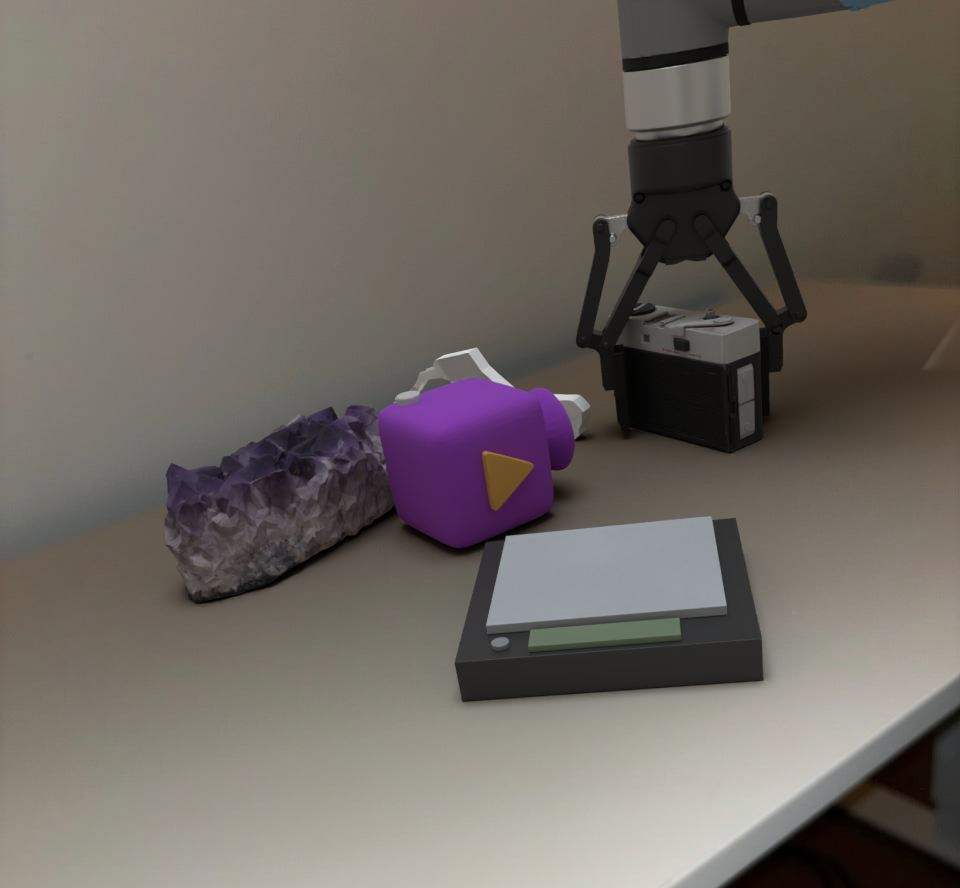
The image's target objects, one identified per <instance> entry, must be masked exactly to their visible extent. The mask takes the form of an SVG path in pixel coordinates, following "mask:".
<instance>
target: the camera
mask: <svg viewBox="0 0 960 888" xmlns="http://www.w3.org/2000/svg"><path fill="white" fill-rule="evenodd" d="M610 315H611V313H610V314H609V315H608V317H607V320H608V319H609V317H610ZM759 328H760V320H759V319H757V318H750V317H743V316H736V315H729V314H722V313H721V314H720V313H716V309H715V308H707V309H705V311H699V310H692V309H684V308H678V307H670V306H662V305H656V304H654V303H652V302H647V303H643V302H637V304H636V306H635V307H634V309H633V311H632V313H631V315H630V317H629V319H628V321H627V323H626V325H625V327H624V329H623V331H622V333H621V335H620V337H619V339H618V341H617V343H616V345H620V344H623V346H624V359H625V371H626V383H627V395H628V407H629V420H630V427H632V428H637V429H640V430H645V431H648V432H651V433H655V434H660V435H663V436H667V437H670V438H675V439H678V440H682V441H686V442H690V443H692V444H693V443H694V444H696V445H697V444H698V445H701V446H705V447H708V448H712V449H714V450H715V449H716V450H719V451H722V452H725V453H734V452H736V451H737V450H740V449H741V448H744V447H746V446H748V445H750V444H752V443H755V442H757V441H760V440H762V439H763V438H764V430H763V417H762V394H761V350H760V335H759ZM612 393H613V397H614V401H615V412H616V421H617V423H618V424H620V419H619V407H618V396H617V390H612Z"/></svg>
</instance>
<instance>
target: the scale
mask: <svg viewBox="0 0 960 888" xmlns="http://www.w3.org/2000/svg"><path fill="white" fill-rule="evenodd" d="M737 521H738V520H737V518H736V517H728V518H719V519H718V518H717V519H713V516H712V515H709V516H698V517H689V518H688V517H685V518H676V519H666V520H665V519H664V520H655V521H646V522H645V521H644V522H635V523H627V524H626V523H625V524H615V525H607V526H604V525H603V526H595V527H586V528H584V527H583V528H575V529H564V530H554V531H544V532H535V533H534V532H533V533H524V534H513V535H506V536H505V539H502V540H494V541H493V540H492V541H486V542H485V544H484V548H483V551H482V554H481V555H482V556H481V559H480V563H479V567H478V571H477V575H476V579H475V582H474V586H473V590H472V594H471V598H470V601H469V604H468V605H469V606H468V609H467V612H466V616H465V619H464V625H463V628H462V632H461V636H460V640H459V643H458V648H457V650H456V651H457V652H456V655H455V658H454V659H455V660H454V667H455V672H456V678H457V683H458V688H459V692H460V697H461V701H462V702H466V701H467V702H468V701H481V700H494V699H495V700H496V699H507V698H522V697H523V698H524V697H537V696H551V695H552V696H553V695H566V694H579V693H580V694H582V693H593V692H594V693H595V692H596V693H597V692H607V691H621V690H623V691H624V690H636V689H647V688H648V689H652V688H653V689H654V688H663V687H664V688H665V687H679V686H681V687H682V686H693V685H708V684H709V685H710V684H721V683H723V684H724V683H737V682H750V681H762V680H764V657H763V655H764V654H763V637H762V632H761V627H760V624H759V623H760V622H759V618H758V614H757V609H756V604H755V600H754V596H753V591H752V587H751V582H750V577H749V573H748V568H747V563H746V559H745V554H744V549H743V544H742V541H741V540H742V539H741V535H740V530H739V526H738V522H737Z"/></svg>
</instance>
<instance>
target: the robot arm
mask: <svg viewBox="0 0 960 888" xmlns="http://www.w3.org/2000/svg"><path fill="white" fill-rule="evenodd" d="M895 1H897V0H616V5H617V6H616V7H617V16H618V27H619V38H620V39H619V40H620V50H621V64H622V72H621V75H622V89H623V91H622V92H623V101H624V102H623V104H624V115H625V116H624V117H625V128H626V129H627V130H628V131H629V132H630V133H634V138H632V139H630V141H629V144H628V145H627V156H628V170H629V182H630V196H631V201H630V205H629V207H628V210H627V212H626V213H622V214H620V213H619V214H615V215H609V216H607V215H605V214H603V213H599V214H597V215H596V216H594V218H593V222H592V235H593V245H594V252H593V256H592V261H591V265H590V270H589V275H588V281H587V284H586V288H585V292H584V297H583V302H582V307H581V311H580V316H579V321H578V324H577V330H576V334H575V344H576V346H577V347H578V348H580V349H591V350H594V351H596V352H597V354H598V355H599V362H600V370H601V371H600V373H601V383H602V387H603V390H604V391H605V392H608V391H609V392H610V391H613V390H617V396H618V407H619V419H620V423H619V428H620V430H619V431H620V432H628V431H631V429H630V427H631V426H630V420H629V407H628V395H627V383H626V371H625V359H624V346H623V344H620V345H616V343H617V341H618V339H619V337H620V335H621V333H622V331H623V329H624V327H625V325H626V323H627V321H628V319H629V317H630V315H631V313H632V311H633V309H634V307H635V306H636V304H637V303H639V302H638V301H639V300H640V298H641V296H642V293H644V290H645V288H646V286H647V284H648V282H649V280H650V278H651V277H652V276H653V274H654V272H655V270H656V268H657V267H658V264H659V263H660V264H664V265H665V266H673V265H678V264H681V263H682V262H684V261H690V262H703V261H707V259H708V258H710V257H712V256H714V257H715V259H716V260H717V261H718V263H719V264H720V265H721V267H722V269H724V270H725V272H726V273H727V275H728V276H729V277H730V279H731V281H732V282H733V283H734V285H735V286H736V288H737V289H738V290H739V291H740V294H742V296H743V297H744V299H745V300H746V301H747V303H748V304H749V305H750V307H751V308H752V310H753V311H754V312H755V314H756V316H757V317H758V318H759V319H760V321H761V322H762V323H763V325H764V327H759V335H760V350H761V394H762V418H764V417H770V416H771V402H770V400H771V399H770V396H771V394H770V393H771V392H770V391H771V390H770V374H771V373H780V372H782V369H783V367H784V332H785V331H786V330H787V328H789V327H790V326H792V325H794V324H796V323H798V324H801V323H802V322H805V321H806V319H807V317H808V310H807V307H806V305H805V302H804V299H803V295H802V293H801V291H800V288H799V285H798V283H797V282H798V281H797V279H796V276H795V274H794V271H793V268H792V266H791V265H792V264H791V262H790V259H789V257H788V254H787V252H786V248H785V246H784V243H783V240H782V237H781V233H780V231H779V229H778V206H779V205H778V199H777V198H776V196H775V195H774V194H773V193H772V192H771V191H769V190H765V191H762V192H760V194H759V195H751V196H742V197H739V196H738V195H737V193H736V191H735V187H734V177H733V175H734V173H733V171H734V170H733V145H732V144H733V142H732V139H733V138H732V130H731V129H729V126H728V125H726V124H725V122H723V120H725V119H727V118H728V117H729V116H730V115H731V114H732V105H731V102H732V101H731V100H732V99H731V77H730V76H731V75H730V72H731V71H730V70H731V69H730V47H729V32H730V28H734V27H737V26H738V27H745V26H751V25H752V24H757V23H765V22H773V21H780V20H788V19H796V18H804V17H809V16H816V15H823V14H829V13H835V12H841V11H851V12H859V11H860V10H863V9H867V8H868V9H869V8H870V7H872V6H875V5H880V4H881V5H882V4H885V3H890V2H895ZM740 214H743V215H745V216H746V218H747V221H748V222H749V224H750V226H751V227H757V229H758V232H759V236H760V238H761V241H762V245H763V246H764V250H765V252H766V255H767V257H768V260H769V264H770V265H771V269H772V272H773V274H774V277H775V280H776V282H777V285H778V288H779V290H780V293H781V296H782V299H783V302H784V306H782V307H780V308H778V309H776V308H775V307H774V305H773V304H772V302H771V301H770V300H769V297H768V296H767V295H766V294H765V292H764V291H763V290H762V288H761V286H760V285H759V284H758V283H757V281H756V280H755V278H754V277H753V276H752V274H751V273H750V271H749V270H748V269H747V267H746V266H745V264H744V263H743V261H742V260H741V259H740V257H739V256H738V255H737V253H736V251H735V250H734V248H733V247H732V245H731V244H730V243H729V241H728V240H727V239H726V236H727V235H728V233H729V231H730V230H731V229H732V227H733V225H734V223H736V221H737V219H738V217H739V215H740ZM625 230H629V231H630V233H632V234H633V236H634V237H635V238H636V239H637V240H638V241H639V243H640V244H641V245H642V249H641V252H640V254H639V255H638V257H637V259H636V262H635V265H634V266H633V268H632V271H631V273H630V274H629V277H628V278H627V281H626V283H625V284H624V286H623V289H622V291H621V292H620V295H619V296H618V299H617V301H616V303H615V304H614V307H613V309H612V311H611V312H610V314H611V315H610V314H609V315H610V317H609V316H608V317H609V319H608V318H607V320H606V323H605V324H604V326H603V329H602V330H598V329H595V324H596V320H597V317H598V311H599V308H600V307H599V306H600V302H601V298H602V293H603V289H604V285H605V280H606V276H607V272H608V268H609V263H610V258H611V247H615V246H617V245H618V244H619V243H620V241H621V236H622V234H623V232H624V231H625Z"/></svg>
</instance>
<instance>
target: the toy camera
mask: <svg viewBox="0 0 960 888" xmlns="http://www.w3.org/2000/svg"><path fill="white" fill-rule="evenodd" d="M554 394H555V393H553V392H551V391H550V390H549V389H547V388H545V387H534V388H532V389H531V390H529V391H526V390H525V389H524V390H523V389H521V388H518V387H515V386H513V387H511V386H508V385H504V384H500V383H497V382H493V381H489V380H485V379H480V378H468V379H463V380H460V381H457V382H454V383H451V382H450V383H448V384H445V385H442V386H439V387H436V388H433V389H430V390H427V391H424V392H418V391H410V390H409V391H404V392H401V393H399V394H397V395H396V396H395V398H396V400H395V402H396V403H394V402H393V403H391V404H389V405H388V406H386V407H384V408H383V409H381V411H380V412H379V417H378V427H379V434H380V439H381V445H382V449H383V454H384V459H385V463H386V468H387V473H388V477H389V482H390V486H391V491H392V496H393V500H394V504H395V505H394V507H395V511H396V512H397V513H396V514H397V515H398V516H399V518H400V520H401V521H402V522H404V524H406V525H408V526H410V527H412V528H413V529H415V530H417V531H419V532H421V533H423V534H424V535H427V536H428V537H430V538H432V539H434V540H436V541H438V542H440V543H442V544H444V545H446V546H448V547H450V548H455V549H464V548H468V547H472V546H475V545H477V544H480V543H482V542H484V541H486V540H489V539H492V538H495V537H496V536H499V535H502V534H503V533H506V532H508V531H510V530H513V529H516V528H518V527H520V526H523V525H524V524H527V523H529V522H532V521H534V520H536V519H538V518H540V517H542V516H544V515H545V514H547V513H548V512H549V511H550V510H551V509H552V508H553V505H554V495H555V494H554V482H553V481H554V480H553V474H552V471H555V472H560V471H563V470H565V469H566V468H568V467H569V465H570V464H572V461H573V458H574V454H575V450H576V449H575V448H576V438H575V439H574V432H573V428H572V425H571V422H570V419H569V417H568V414H567V412H566V410H565V409H564V407H563V405H562V404H561V402H560V401H559V400H558V399H557V397H556V396H555V395H554Z"/></svg>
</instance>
